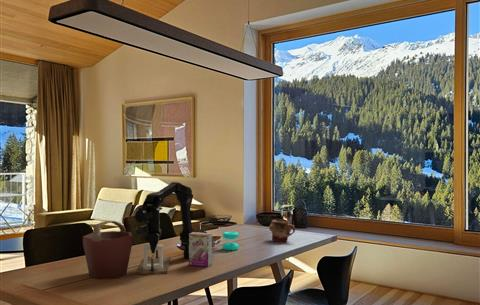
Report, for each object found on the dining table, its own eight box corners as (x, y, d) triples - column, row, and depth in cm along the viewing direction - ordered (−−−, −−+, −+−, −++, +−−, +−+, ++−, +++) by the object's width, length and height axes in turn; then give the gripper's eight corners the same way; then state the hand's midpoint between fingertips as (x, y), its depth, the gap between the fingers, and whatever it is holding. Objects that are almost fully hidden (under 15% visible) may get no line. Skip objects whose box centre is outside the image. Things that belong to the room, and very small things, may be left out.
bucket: (102, 284, 192) (103, 226, 192) (70, 276, 203) (70, 222, 204) (142, 271, 212) (143, 220, 213) (111, 265, 224) (111, 216, 224)
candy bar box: (188, 265, 225) (188, 233, 225) (192, 263, 230) (192, 231, 230) (208, 267, 221) (208, 234, 222) (212, 265, 226) (212, 233, 226)
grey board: (170, 258, 240) (170, 256, 240) (167, 273, 209) (167, 271, 209) (144, 259, 239) (144, 256, 239) (137, 274, 208) (137, 271, 208)
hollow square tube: (162, 266, 218) (163, 244, 218) (162, 269, 213) (162, 246, 213) (144, 266, 217) (144, 244, 217) (143, 269, 212) (143, 246, 212)
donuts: (221, 233, 261) (223, 231, 271) (221, 250, 261) (223, 247, 271) (237, 234, 260) (239, 231, 270) (237, 251, 260) (239, 247, 270)
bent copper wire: (158, 257, 238) (158, 241, 238) (153, 271, 209) (153, 253, 209) (155, 257, 238) (155, 241, 238) (150, 271, 209) (151, 253, 209)
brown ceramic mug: (299, 241, 290) (299, 220, 290) (291, 244, 280) (291, 222, 280) (273, 238, 301) (273, 218, 301) (264, 241, 291) (264, 220, 291)
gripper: (139, 217, 224) (139, 247, 224) (134, 222, 205) (134, 256, 205) (161, 216, 225) (161, 247, 225) (158, 222, 206) (158, 255, 206)
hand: (153, 251), depth 215 cm, fingers open, 7 cm apart
